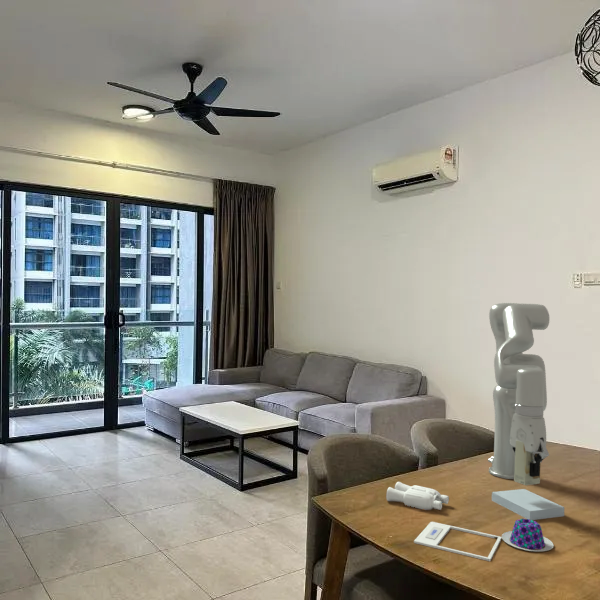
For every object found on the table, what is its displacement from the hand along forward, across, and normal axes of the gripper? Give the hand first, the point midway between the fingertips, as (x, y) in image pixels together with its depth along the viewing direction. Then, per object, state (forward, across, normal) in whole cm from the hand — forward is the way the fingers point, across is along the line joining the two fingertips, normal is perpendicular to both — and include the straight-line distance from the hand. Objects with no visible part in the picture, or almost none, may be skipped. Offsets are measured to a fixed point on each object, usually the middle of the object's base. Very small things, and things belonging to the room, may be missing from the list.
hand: (527, 472), depth 165 cm
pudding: (+11, +19, -18) cm, 28 cm away
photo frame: (+11, +13, -34) cm, 38 cm away
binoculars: (+11, -13, -29) cm, 33 cm away
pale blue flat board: (+11, 0, 0) cm, 11 cm away
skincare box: (+3, 0, 0) cm, 3 cm away
